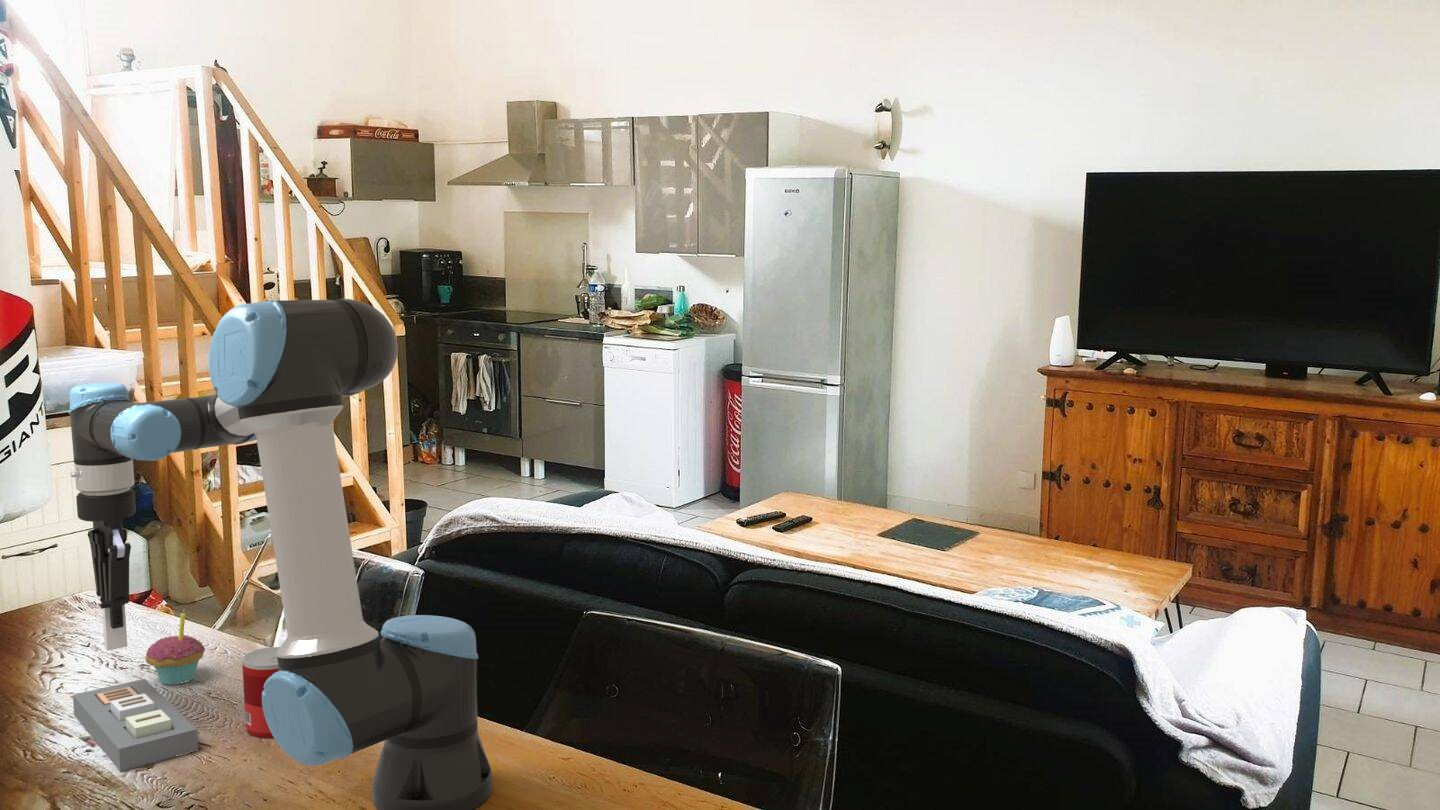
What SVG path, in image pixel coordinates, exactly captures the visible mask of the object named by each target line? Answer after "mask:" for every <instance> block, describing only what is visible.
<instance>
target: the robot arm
mask: <svg viewBox="0 0 1440 810" xmlns="http://www.w3.org/2000/svg"><path fill="white" fill-rule="evenodd" d="M398 344H399V343H398V339H397V334H396V333H395V330H394V328H393V326H392V324H391V323H390V321H389V320H388V319H387V317H386V316H385V315H384V314H383V313H382V312H381V311H379V309H377V308H376V307H374V306H372V305H370V304H368V303H365V302H363V301H361V300H356V299H352V298H351V299H350V298H333V299H296V300H294V299H293V300H291V299H290V300H289V299H288V300H287V299H285V300H268V301H267V300H263V301H259V302H251V303H243V304H239V305H236V306H234V307H232V308H230V309H229V310H228V311H227V312H226V313H224V315H223V316H222V318H220V320H219V321H218V323H217V325H216V329H215V331H214V332H213V335H212V337H211V341H210V346H209V352H208V371H209V372H208V373H209V377H210V382H211V385H212V387H213V388H212V389H214V391H215V392H216V393H215V394H210V395H203V396H196V397H185V398H177V399H175V398H174V399H166V400H165V399H164V400H156V401H147V402H146V401H145V402H131V398H130V397H129V391H128V387H127V386H126V385H125V384H123V383H119V382H95V383H92V382H91V383H85V384H78V385H75V386H74V387H72V388H71V390H70V391H69V410H68V415H69V416H70V417H69V418H70V420H69V421H70V430H71V440H72V453H73V464H74V465H73V466H74V470H72V471H70V477H71V478H75V479H74V480H75V489H76V490H77V491H78V492H79V493H77V495H76V496H75V498H76V500H75V501H76V512H77V513H76V514H77V517H78V519H79V520H81V521H84V522H92V528H93V529H90V530H88V532H87V537H88V541H89V544H90V550H91V551H90V552H91V559H92V565H93V573H94V580H95V581H94V582H95V589H96V591H95V593H96V596H97V597H99V602H100V603H99V608H100V609H101V610H102V611H101V613H102V627H103V642H104V643H103V644H104V649H105V650H106V652H107V651H113V650H117V649H122V648H127V647H128V635H127V633H128V632H127V620H126V606H125V605H126V604H129V603H130V555H131V550H132V549H131V548H132V546H131V543H130V542H127V540H128V534H127V530H126V528H124V526H123V523H122V521H123V520H124V519H125V518H130V517H132V516H134V514H136V512H137V507H136V495H135V494H136V491H134V489H133V488H132V487H133V486H134V485H135V472H134V460H136V461H140V462H141V461H142V462H144V461H153V462H154V461H159V460H162V459H165V458H166V457H168V456H169V455H171V454H174V453H180V452H181V453H182V452H189V451H193V450H194V451H195V450H198V449H207V448H214V447H223V446H230V445H236V446H237V445H242V444H246V443H249V442H254V441H256V444H257V450H258V451H257V452H258V455H259V461H260V469H261V475H262V481H263V489H264V494H265V501H266V506H267V513H268V520H269V526H270V527H269V528H270V531H271V532H270V533H271V538H272V544H273V551H274V556H275V557H274V558H275V563H276V570H277V577H278V582H279V590H280V597H281V601H282V608H283V615H284V621H285V627H286V633H287V634H286V635H287V637H286V639H285V640H284V641H283V642H282V644H281V646H279V647H280V648H279V650H278V651H277V660H278V667H279V671H278V672H276V673H274V674H273V675H272V676H271V677H269V678H268V679H267V681H266V682H265V684H264V691H263V692H262V706H263V712H264V716H265V719H266V722H267V725H268V727H269V729H270V731H271V733H272V735H273V737H274V738H273V739H274V740H275V741H276V743H277V745H278V746H279V747H280V748H281V749H282V750H283V752H284V753H286V755H288V757H289V758H291V759H293V760H294V761H295V762H298V763H299V764H302V765H306V766H309V767H310V766H311V767H314V766H320V765H323V764H327V763H330V762H332V761H336V760H343V759H346V758H348V757H350V755H352V754H354V753H356V752H359V751H362V750H364V749H367V748H369V747H371V746H374V745H377V744H379V743H381V742H384V743H383V745H382V749H381V753H380V755H379V758H378V761H377V765H376V769H375V771H374V775H373V778H372V782H371V783H372V784H371V794H372V795H371V797H372V798H371V800H372V803H373V805H374V807H375V808H376V809H377V810H473V809H476V808H478V807H480V805H482V804H483V803H484V802H485V801H487V800H488V798H490V796H491V795H492V791H493V771H492V767H491V764H490V762H489V759H488V757H487V754H486V751H485V748H484V745H483V742H482V740H481V738H480V737H481V736H480V735H479V730H478V729H479V726H478V717H479V716H478V659H479V654H478V653H477V639H476V638H477V637H476V632H475V630H474V629H473V628H472V626H471V625H469V624H467V623H466V622H464V621H462V620H459V619H455V618H453V617H447V616H441V615H440V616H439V615H432V614H431V615H428V614H415V615H412V614H411V615H402V616H396V617H392V618H390V619H387V620H386V621H385V622H384V624H383V625H382V629H381V631H380V635H381V636H382V638H380V635H379V630H376V629H375V628H374V627H372V626H370V625H369V624H367V623H366V622H365V620H364V618H363V612H362V605H361V600H360V592H359V586H358V580H357V573H356V567H355V561H354V555H353V548H352V543H351V542H352V541H351V536H350V527H349V521H348V515H347V509H346V503H345V497H344V491H343V490H344V489H343V484H342V479H341V478H342V477H341V472H340V464H339V459H338V453H337V445H336V441H335V440H336V439H335V433H334V426H333V424H334V421H335V419H336V418H337V416H338V415H339V414H340V413H341V412H342V410H343V409H344V404H343V398H342V397H351V396H354V395H358V394H359V393H362V392H364V391H366V390H369V389H371V388H373V387H376V386H377V385H379V384H381V383H382V382H383V381H384V380H386V379H387V378H388V377H389V375H390V374H391V372H392V371H393V370H394V367H395V365H396V362H397V358H398V353H399V345H398ZM380 639H381V640H380Z"/></svg>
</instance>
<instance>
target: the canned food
mask: <svg viewBox="0 0 1440 810" xmlns="http://www.w3.org/2000/svg"><path fill="white" fill-rule="evenodd" d="M280 647H281V646H273V647H270V646H269V647H265V648H259V649H256V650H253V651H250V652H248V653H247V654H245V655H244V656H243V657H242V684H243V705H244V722H245V725H244V726H245V729H246V731H247V732H248V734H249V733H250V734H249V735H250V736H252V735H253V737H255V736H257V737H256V738H259V737H263V738H262V739H271V738H270V737H273V735H272V733H271V731H270V729H269V727H268V725H267V722H266V719H265V716H264V712H263V706H262V692H263V691H264V684H265V682H266V681H267V679H268V678H269V677H271V676H272V675H273V674H274V673H276V672H278V671H279V667H278V660H277V651H278V650H279V648H280ZM264 737H265V738H264ZM266 737H267V738H266ZM268 737H269V738H268Z"/></svg>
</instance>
